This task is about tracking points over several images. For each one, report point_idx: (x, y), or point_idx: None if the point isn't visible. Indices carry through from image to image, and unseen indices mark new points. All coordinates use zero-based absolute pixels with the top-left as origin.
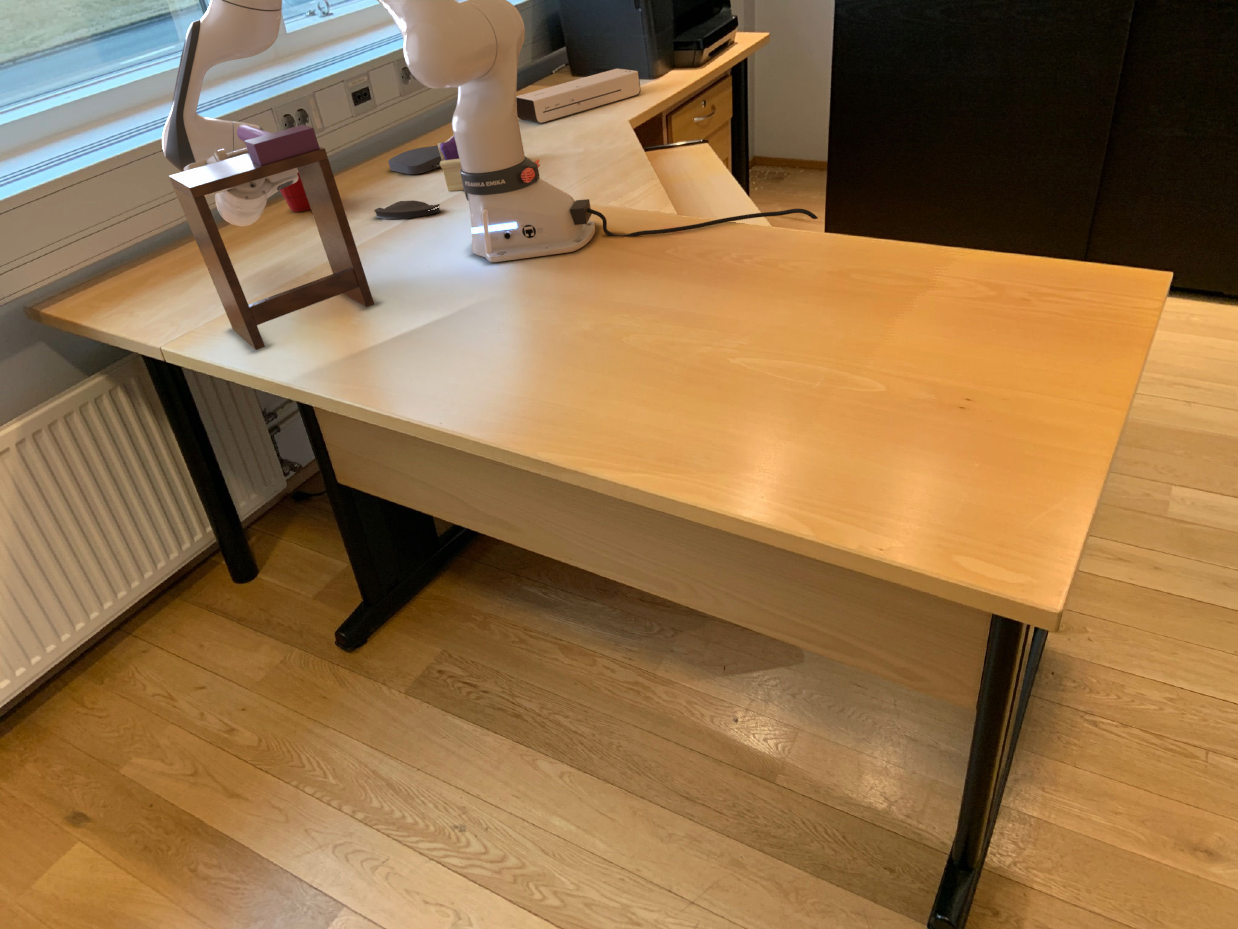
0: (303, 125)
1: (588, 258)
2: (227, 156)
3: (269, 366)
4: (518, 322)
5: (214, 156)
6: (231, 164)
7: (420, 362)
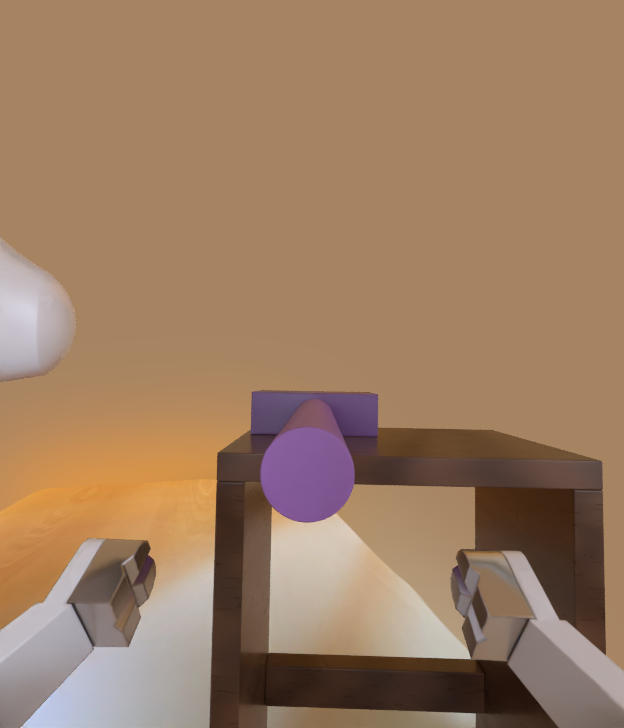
0: (256, 391)
1: (13, 606)
2: (453, 577)
3: None
4: (210, 564)
5: (561, 627)
6: (420, 442)
7: (312, 569)
